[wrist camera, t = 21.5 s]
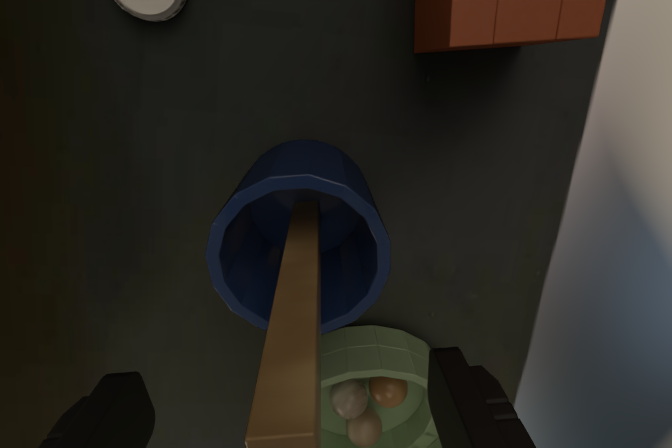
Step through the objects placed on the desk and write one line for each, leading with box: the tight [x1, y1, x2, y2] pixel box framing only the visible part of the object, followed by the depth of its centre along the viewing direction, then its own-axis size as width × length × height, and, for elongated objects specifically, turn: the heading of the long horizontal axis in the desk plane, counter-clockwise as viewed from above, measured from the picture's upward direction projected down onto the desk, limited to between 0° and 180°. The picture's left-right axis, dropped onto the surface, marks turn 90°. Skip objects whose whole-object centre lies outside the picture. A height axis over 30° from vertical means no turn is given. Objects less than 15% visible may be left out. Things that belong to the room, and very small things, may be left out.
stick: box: [245, 201, 321, 448], centre depth 16 cm, size 2×2×16 cm
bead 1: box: [329, 378, 368, 419], centre depth 28 cm, size 3×3×3 cm
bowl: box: [321, 325, 442, 448], centre depth 28 cm, size 14×14×5 cm
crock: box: [205, 140, 390, 334], centre depth 20 cm, size 8×8×8 cm
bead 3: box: [369, 376, 408, 408], centre depth 27 cm, size 3×3×3 cm
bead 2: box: [346, 406, 382, 448], centre depth 29 cm, size 3×3×3 cm
